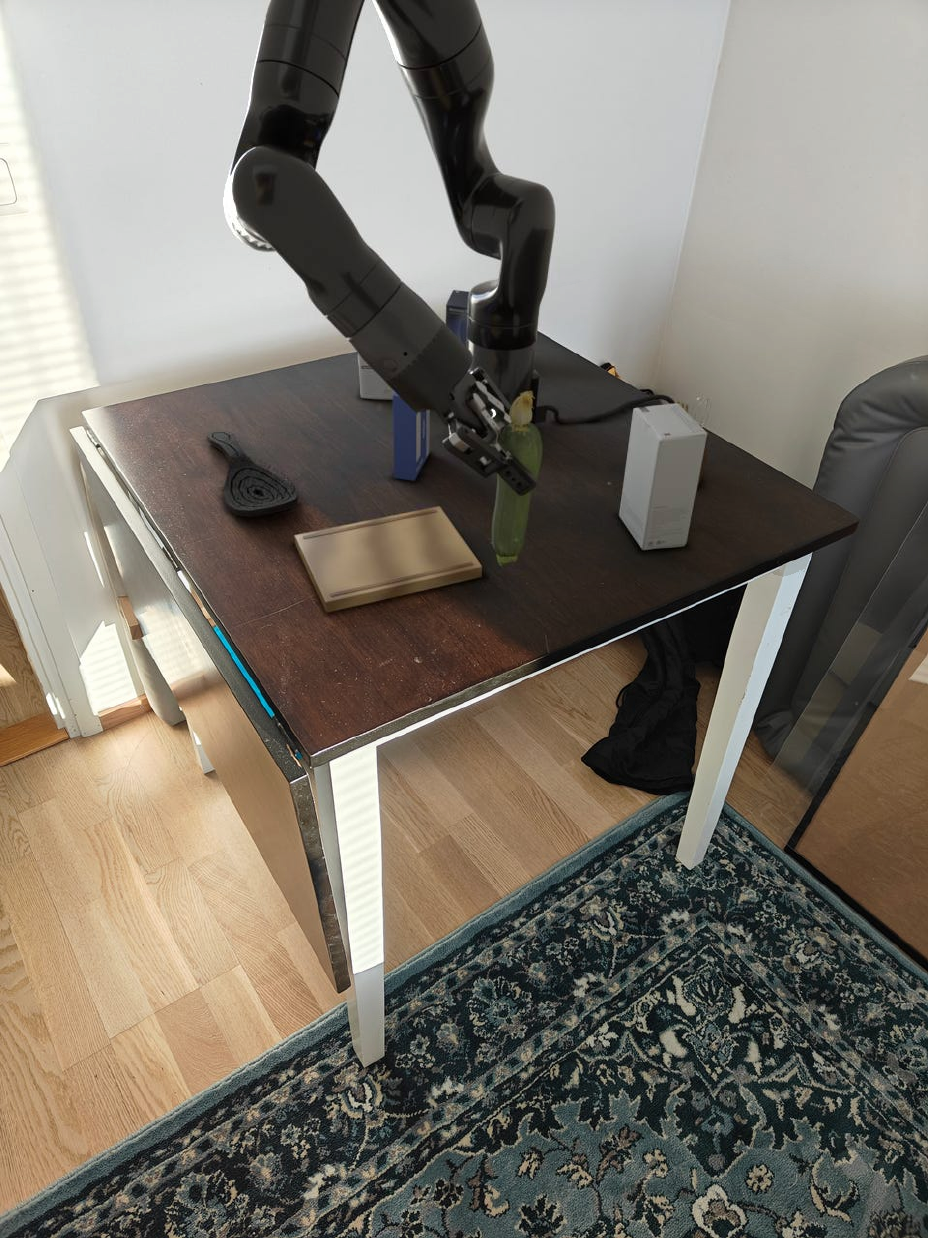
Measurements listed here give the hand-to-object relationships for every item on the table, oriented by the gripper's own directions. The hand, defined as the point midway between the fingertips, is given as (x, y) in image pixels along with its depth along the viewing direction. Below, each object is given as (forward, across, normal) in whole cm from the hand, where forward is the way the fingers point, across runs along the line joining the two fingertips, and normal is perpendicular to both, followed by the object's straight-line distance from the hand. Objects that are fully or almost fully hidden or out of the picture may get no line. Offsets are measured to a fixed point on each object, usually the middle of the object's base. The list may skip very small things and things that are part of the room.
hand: (530, 475), depth 86 cm
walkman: (0, +25, +22) cm, 34 cm away
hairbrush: (-15, +18, +37) cm, 44 cm away
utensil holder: (+24, +28, -2) cm, 37 cm away
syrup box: (-6, +46, +29) cm, 54 cm away
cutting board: (0, +4, +22) cm, 22 cm away
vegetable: (+7, 0, +9) cm, 11 cm away
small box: (+3, +58, +19) cm, 61 cm away
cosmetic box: (+21, +15, 0) cm, 26 cm away
